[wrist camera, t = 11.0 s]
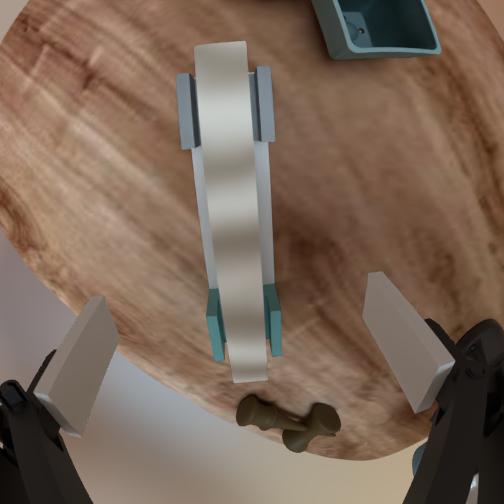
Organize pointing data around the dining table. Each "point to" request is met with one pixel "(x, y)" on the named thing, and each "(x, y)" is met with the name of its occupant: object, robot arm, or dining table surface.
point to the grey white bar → (233, 201)
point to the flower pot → (376, 28)
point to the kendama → (289, 422)
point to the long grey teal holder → (261, 137)
